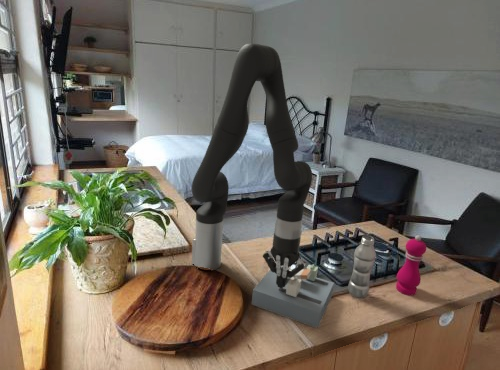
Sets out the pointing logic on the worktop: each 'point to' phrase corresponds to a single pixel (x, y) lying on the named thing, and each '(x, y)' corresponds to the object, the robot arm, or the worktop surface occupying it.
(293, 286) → the slider knob
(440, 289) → the worktop surface
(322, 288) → the console
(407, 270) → the pepper mill
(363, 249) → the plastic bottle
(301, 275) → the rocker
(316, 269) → the green slider
